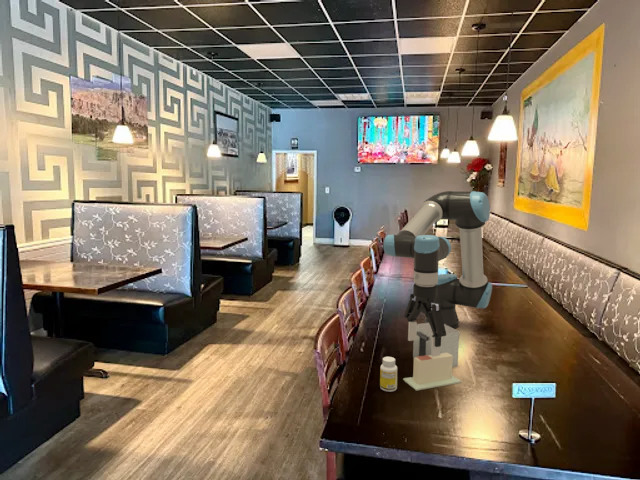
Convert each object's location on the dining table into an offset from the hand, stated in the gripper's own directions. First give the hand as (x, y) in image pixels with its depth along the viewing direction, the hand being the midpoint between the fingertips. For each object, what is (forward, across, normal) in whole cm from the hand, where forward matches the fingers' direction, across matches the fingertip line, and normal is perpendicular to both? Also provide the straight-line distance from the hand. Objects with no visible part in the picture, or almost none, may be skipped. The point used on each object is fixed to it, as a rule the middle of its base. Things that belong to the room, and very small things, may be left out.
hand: (423, 347), depth 144 cm
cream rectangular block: (+12, 0, +4) cm, 12 cm away
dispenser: (+12, -13, +14) cm, 22 cm away
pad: (+12, 0, +4) cm, 13 cm away
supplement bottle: (+12, 0, -12) cm, 17 cm away
